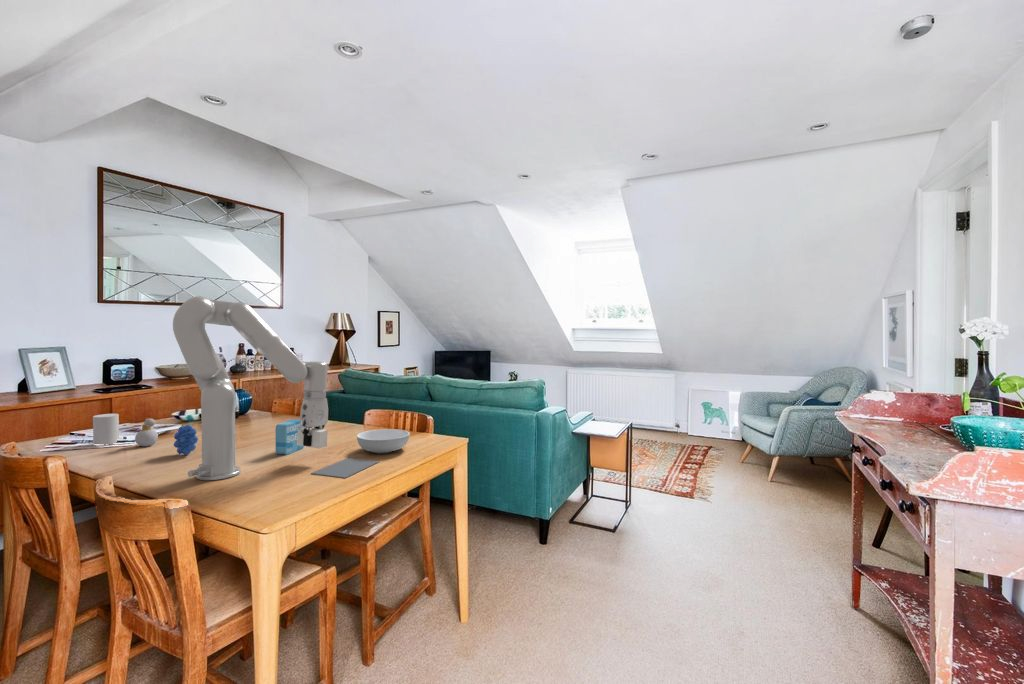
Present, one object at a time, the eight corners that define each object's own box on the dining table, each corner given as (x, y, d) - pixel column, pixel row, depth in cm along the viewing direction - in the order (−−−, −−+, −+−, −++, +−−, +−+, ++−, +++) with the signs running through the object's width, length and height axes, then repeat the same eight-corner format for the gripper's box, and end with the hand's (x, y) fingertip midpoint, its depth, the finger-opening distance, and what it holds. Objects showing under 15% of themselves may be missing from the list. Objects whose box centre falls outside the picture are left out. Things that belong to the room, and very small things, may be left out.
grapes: (207, 453, 181) (207, 423, 181) (190, 458, 175) (190, 426, 175) (186, 450, 185) (186, 421, 185) (168, 455, 179) (168, 424, 178)
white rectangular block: (319, 448, 168) (320, 431, 168) (296, 445, 171) (297, 428, 171) (327, 446, 172) (328, 430, 172) (304, 443, 175) (305, 427, 175)
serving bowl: (420, 448, 194) (420, 432, 193) (382, 460, 176) (382, 442, 175) (384, 441, 204) (384, 426, 204) (345, 452, 186) (345, 435, 186)
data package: (285, 455, 180) (285, 425, 180) (275, 455, 181) (275, 424, 181) (304, 448, 192) (304, 419, 192) (294, 447, 193) (294, 418, 193)
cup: (122, 443, 196) (121, 415, 196) (97, 447, 189) (97, 418, 189) (114, 440, 200) (114, 412, 200) (90, 444, 193) (89, 415, 193)
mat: (345, 478, 154) (345, 477, 154) (310, 473, 158) (310, 473, 158) (379, 462, 173) (379, 461, 173) (347, 458, 177) (347, 457, 177)
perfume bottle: (149, 443, 197) (148, 414, 196) (166, 444, 194) (166, 416, 194) (130, 447, 190) (130, 418, 189) (148, 449, 187) (148, 419, 187)
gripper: (307, 398, 162) (303, 450, 162) (338, 394, 178) (335, 441, 178) (289, 396, 164) (286, 447, 164) (322, 392, 180) (319, 439, 180)
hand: (311, 443), depth 171 cm, fingers closed on white rectangular block, 4 cm apart
